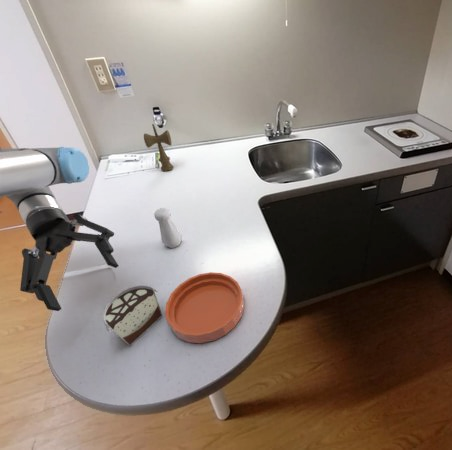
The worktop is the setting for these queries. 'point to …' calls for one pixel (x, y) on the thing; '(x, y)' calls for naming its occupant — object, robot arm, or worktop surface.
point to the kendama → (160, 147)
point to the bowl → (204, 307)
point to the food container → (132, 313)
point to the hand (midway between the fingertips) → (84, 286)
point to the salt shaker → (167, 228)
